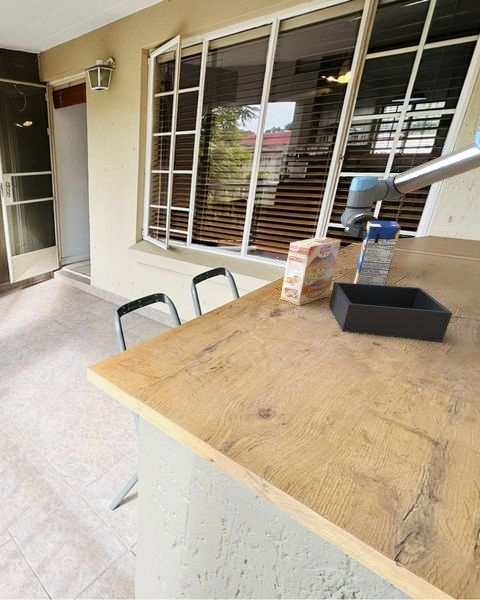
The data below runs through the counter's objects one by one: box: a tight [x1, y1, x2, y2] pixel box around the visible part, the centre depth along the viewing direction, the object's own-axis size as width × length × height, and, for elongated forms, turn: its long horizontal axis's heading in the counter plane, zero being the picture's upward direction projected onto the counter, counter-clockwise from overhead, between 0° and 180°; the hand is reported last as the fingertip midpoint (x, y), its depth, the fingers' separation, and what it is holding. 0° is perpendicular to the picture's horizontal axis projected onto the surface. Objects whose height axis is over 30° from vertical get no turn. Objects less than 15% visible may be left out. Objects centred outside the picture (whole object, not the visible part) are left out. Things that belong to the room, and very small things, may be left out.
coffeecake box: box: [280, 236, 342, 306], centre depth 114 cm, size 15×7×20 cm, turn 114°
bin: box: [328, 281, 453, 343], centre depth 97 cm, size 21×19×8 cm
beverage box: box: [353, 220, 402, 285], centre depth 110 cm, size 7×11×22 cm, turn 146°
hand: (385, 238), depth 103 cm, fingers closed on beverage box, 3 cm apart
